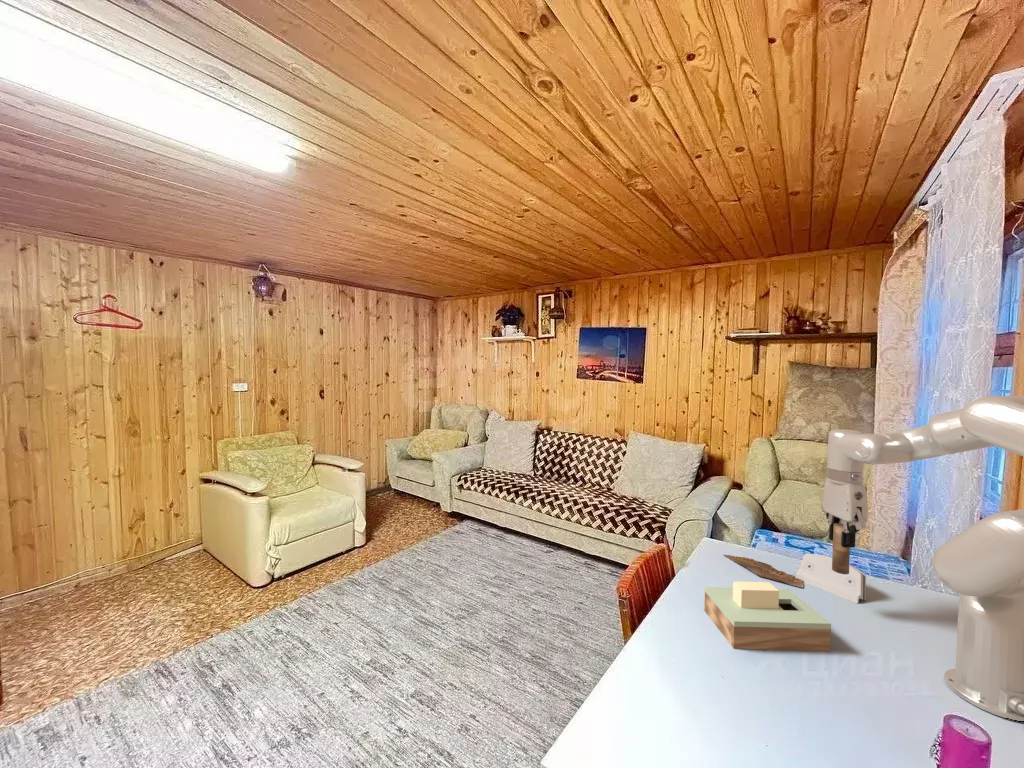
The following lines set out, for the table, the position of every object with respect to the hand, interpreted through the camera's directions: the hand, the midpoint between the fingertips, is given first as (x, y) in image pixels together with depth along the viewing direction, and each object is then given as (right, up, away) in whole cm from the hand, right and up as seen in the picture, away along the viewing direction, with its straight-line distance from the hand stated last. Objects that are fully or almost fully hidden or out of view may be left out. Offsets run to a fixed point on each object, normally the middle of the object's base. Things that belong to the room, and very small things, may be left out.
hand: (841, 542), depth 109 cm
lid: (-26, -13, -8) cm, 31 cm away
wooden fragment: (-7, -19, +24) cm, 32 cm away
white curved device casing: (+8, -19, +14) cm, 25 cm away
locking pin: (0, -8, 0) cm, 8 cm away
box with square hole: (-26, -19, -8) cm, 34 cm away
